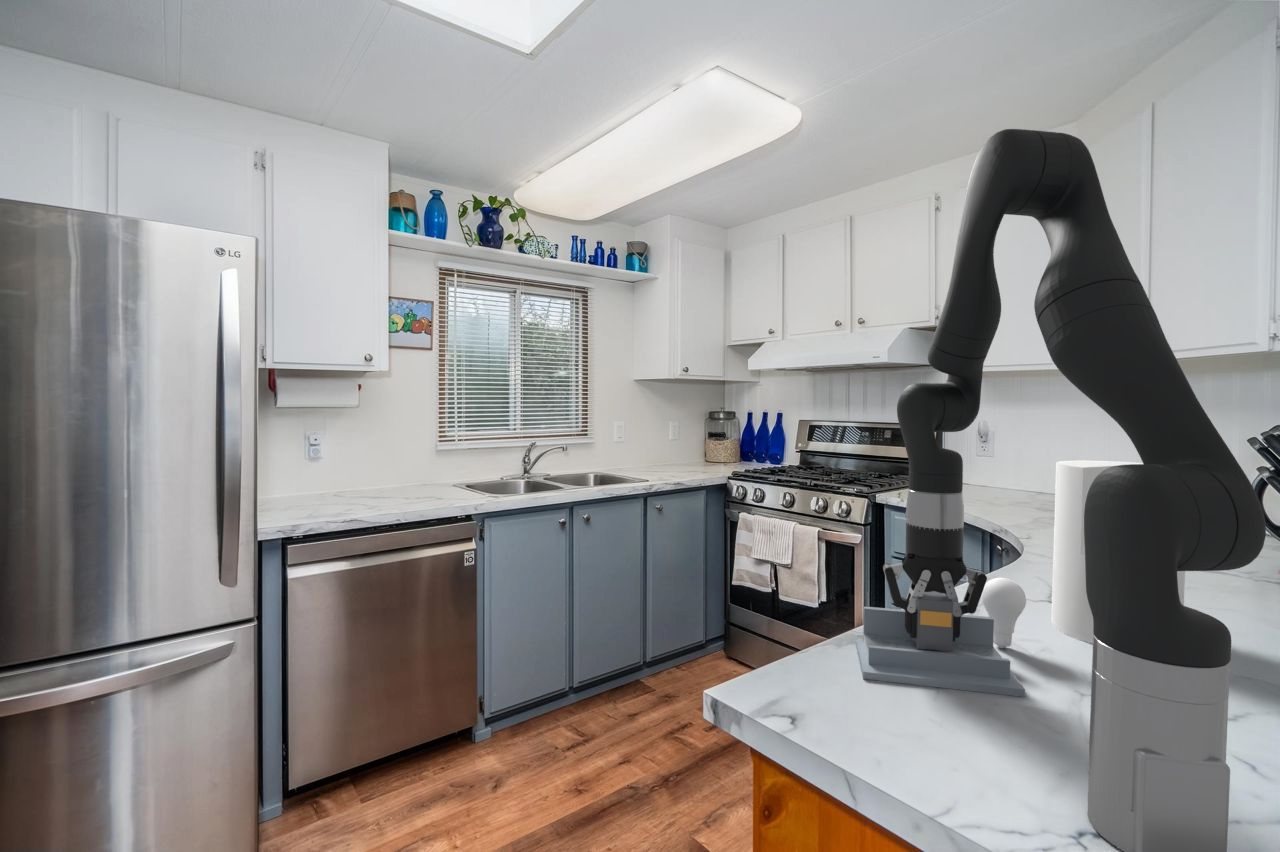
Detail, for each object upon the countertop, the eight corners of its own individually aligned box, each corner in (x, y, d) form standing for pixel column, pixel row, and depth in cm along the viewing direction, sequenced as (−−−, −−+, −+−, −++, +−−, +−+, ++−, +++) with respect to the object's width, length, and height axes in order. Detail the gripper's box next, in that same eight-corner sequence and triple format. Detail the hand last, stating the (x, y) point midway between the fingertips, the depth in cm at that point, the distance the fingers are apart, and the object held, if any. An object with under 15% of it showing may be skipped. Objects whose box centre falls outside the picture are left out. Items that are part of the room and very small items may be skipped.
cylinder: (1027, 621, 108) (1032, 462, 106) (1094, 609, 114) (1099, 459, 113) (1136, 660, 92) (1143, 473, 90) (1207, 644, 98) (1215, 469, 96)
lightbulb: (1031, 657, 93) (1033, 585, 92) (987, 654, 94) (989, 583, 93) (1015, 641, 99) (1017, 574, 98) (974, 638, 100) (975, 571, 99)
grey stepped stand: (1024, 696, 80) (1026, 648, 80) (863, 678, 86) (863, 632, 85) (997, 659, 92) (998, 616, 92) (856, 645, 97) (856, 604, 97)
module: (952, 652, 86) (953, 602, 86) (918, 648, 88) (918, 600, 87) (944, 638, 91) (945, 591, 91) (912, 635, 93) (912, 589, 92)
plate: (1008, 676, 84) (1008, 665, 84) (868, 662, 89) (868, 651, 89) (992, 656, 91) (993, 646, 91) (863, 643, 95) (863, 634, 95)
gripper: (884, 524, 87) (882, 642, 88) (997, 529, 83) (994, 653, 84) (878, 514, 94) (876, 624, 95) (981, 519, 91) (979, 633, 91)
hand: (931, 637), depth 89 cm, fingers closed on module, 4 cm apart
